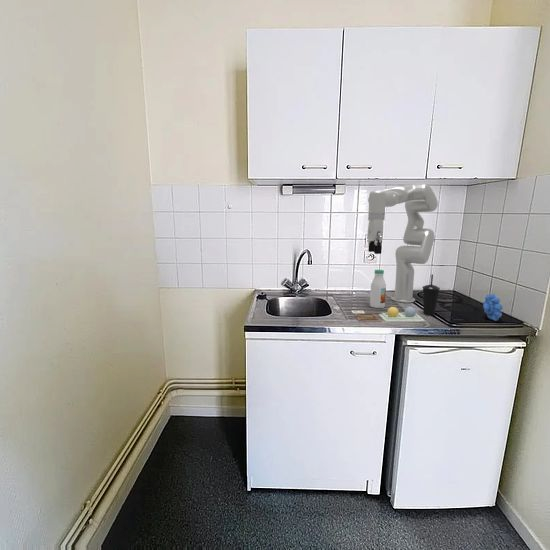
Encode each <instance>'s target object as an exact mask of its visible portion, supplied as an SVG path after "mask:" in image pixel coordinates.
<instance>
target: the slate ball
mask: <svg viewBox="0 0 550 550" xmlns="http://www.w3.org/2000/svg"><path fill="white" fill-rule="evenodd" d="M416 311H417V310H416V309H415V308H414V307H412V306H408V307H407V306H406V307H405V308H404V312H403V313H405V315H406V316H407V317H413V316H415V314H417V312H416Z"/></svg>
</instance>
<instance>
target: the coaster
mask: <svg viewBox="0 0 550 550" xmlns="http://www.w3.org/2000/svg"><path fill="white" fill-rule="evenodd" d="M353 315H354V316H355V318H356V319H357V320H358V322H359V321H378V323H381V322H382V320H381V319H380V317H378V316H377V314H375V313H365V314H353ZM379 321H380V322H379Z"/></svg>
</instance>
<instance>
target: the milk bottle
mask: <svg viewBox="0 0 550 550" xmlns="http://www.w3.org/2000/svg"><path fill="white" fill-rule="evenodd" d="M386 294H387V283H386V281H385V278H384V270H383V269H374V277H373V279H372V282H371V285H370V294H369V295H370V297H369V306H370V307H371V308H373V309H384V308H385V307H386V296H387V295H386Z"/></svg>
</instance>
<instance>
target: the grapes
mask: <svg viewBox="0 0 550 550" xmlns="http://www.w3.org/2000/svg"><path fill="white" fill-rule="evenodd" d="M482 307H483V309H484V313H486V314H487V315H486V316H487V318H488V319H489V320H493V321H494V322H497V321H499V318H501V317H502V316H503V313H502V312H501V311H502V310H503V306H502V304H501V300H500V298H499V297H497V295H495V293H490V294H489V295H488V294H487V295H485V297H484V301H483V303H482Z"/></svg>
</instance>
